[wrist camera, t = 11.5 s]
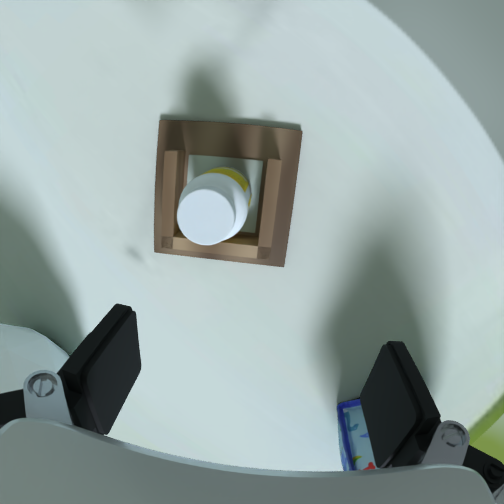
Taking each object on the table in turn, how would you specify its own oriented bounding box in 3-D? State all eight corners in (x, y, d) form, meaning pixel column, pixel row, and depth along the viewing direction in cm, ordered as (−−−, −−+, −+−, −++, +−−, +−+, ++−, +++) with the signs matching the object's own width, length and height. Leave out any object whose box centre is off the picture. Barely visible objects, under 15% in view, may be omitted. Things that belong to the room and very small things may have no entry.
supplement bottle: (191, 172, 29) (158, 187, 20) (245, 160, 28) (236, 168, 19) (204, 224, 31) (178, 261, 21) (256, 214, 30) (253, 247, 21)
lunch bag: (315, 406, 40) (335, 569, 16) (420, 368, 38) (488, 512, 13) (342, 465, 47) (358, 576, 23) (420, 437, 44) (456, 542, 20)
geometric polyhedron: (101, 359, 50) (98, 483, 36) (-13, 329, 39) (-23, 451, 26) (108, 323, 33) (105, 523, 19) (-58, 275, 22) (-80, 461, 9)
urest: (301, 131, 28) (306, 129, 24) (283, 264, 33) (285, 279, 29) (161, 120, 28) (148, 118, 24) (156, 250, 33) (144, 262, 29)
